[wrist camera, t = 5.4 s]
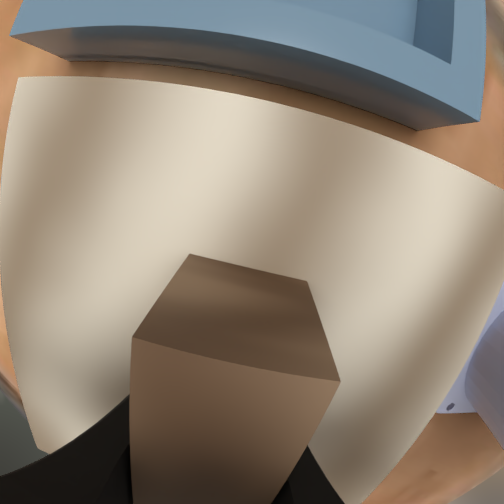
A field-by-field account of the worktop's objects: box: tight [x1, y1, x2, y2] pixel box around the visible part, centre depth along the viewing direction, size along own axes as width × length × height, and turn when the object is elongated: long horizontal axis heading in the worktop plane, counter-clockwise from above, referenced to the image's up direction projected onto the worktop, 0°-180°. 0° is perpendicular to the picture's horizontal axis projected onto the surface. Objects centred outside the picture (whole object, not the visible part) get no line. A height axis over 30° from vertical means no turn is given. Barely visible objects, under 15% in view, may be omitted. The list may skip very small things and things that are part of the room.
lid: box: [0, 76, 504, 504], centre depth 8 cm, size 16×16×5 cm
